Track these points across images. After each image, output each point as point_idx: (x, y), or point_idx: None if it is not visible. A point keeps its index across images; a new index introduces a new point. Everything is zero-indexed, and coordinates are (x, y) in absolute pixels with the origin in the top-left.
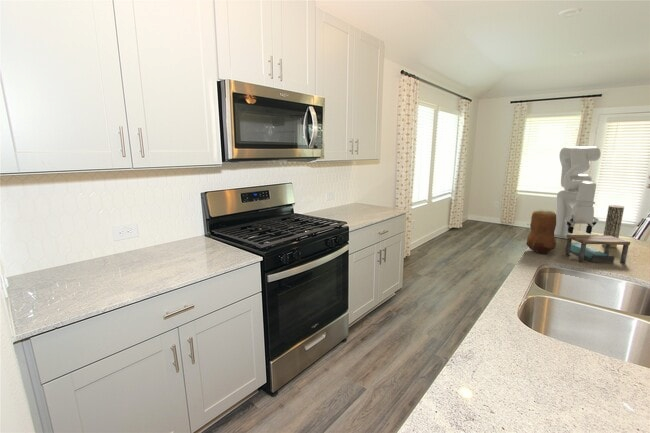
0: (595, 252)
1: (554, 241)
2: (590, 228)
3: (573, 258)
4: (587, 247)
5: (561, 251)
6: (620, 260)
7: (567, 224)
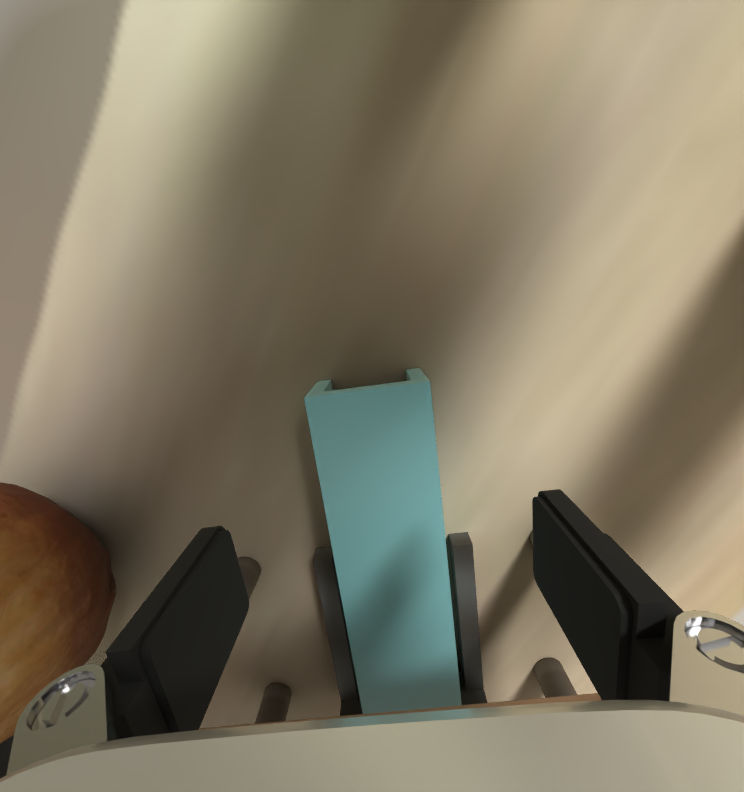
0: (400, 695)
1: None
2: (597, 682)
3: (260, 635)
4: (420, 561)
5: (240, 474)
6: (542, 684)
7: (2, 763)
